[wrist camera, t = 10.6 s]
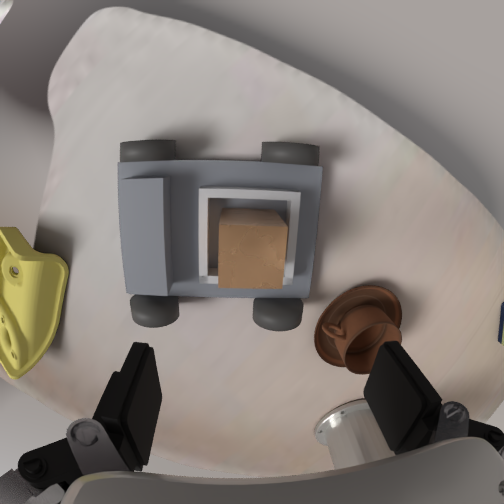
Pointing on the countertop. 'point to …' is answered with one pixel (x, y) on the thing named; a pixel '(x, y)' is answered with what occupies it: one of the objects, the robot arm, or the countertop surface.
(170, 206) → the chassis
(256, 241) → the wooden block
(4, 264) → the plastic component
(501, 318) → the protein box
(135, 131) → the countertop surface
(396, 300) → the cup and saucer
